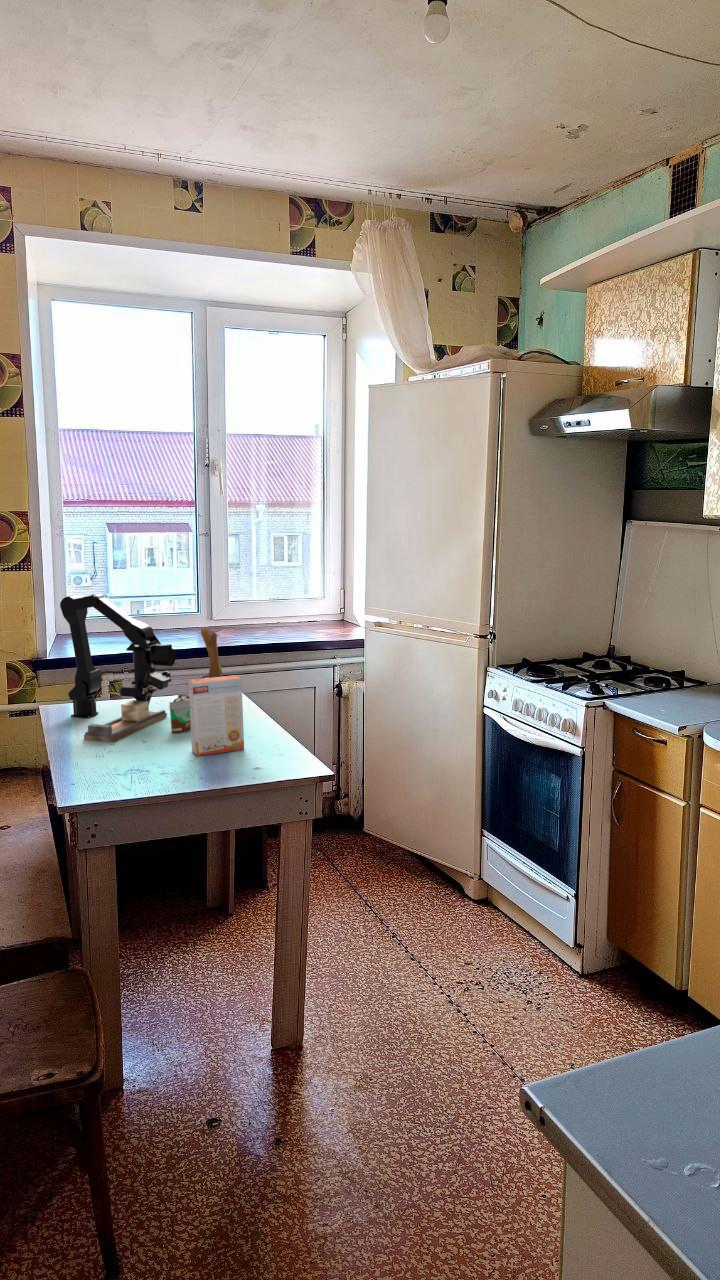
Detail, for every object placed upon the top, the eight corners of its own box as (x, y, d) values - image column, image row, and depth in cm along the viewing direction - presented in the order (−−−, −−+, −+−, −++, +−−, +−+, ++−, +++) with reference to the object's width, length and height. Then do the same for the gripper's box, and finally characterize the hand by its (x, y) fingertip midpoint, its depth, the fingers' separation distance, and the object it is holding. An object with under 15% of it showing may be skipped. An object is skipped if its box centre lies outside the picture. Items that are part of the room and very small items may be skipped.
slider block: (121, 719, 270) (121, 704, 269) (132, 715, 276) (131, 700, 275) (138, 721, 268) (137, 705, 267) (149, 716, 274) (148, 701, 273)
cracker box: (238, 745, 249) (236, 674, 246) (244, 750, 244) (242, 678, 240) (190, 751, 244) (187, 678, 240) (195, 756, 238) (192, 683, 235)
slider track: (84, 739, 255) (83, 725, 254) (139, 715, 283) (139, 701, 283) (113, 742, 252) (112, 727, 251) (166, 717, 280) (166, 703, 279)
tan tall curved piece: (209, 719, 278) (206, 633, 273) (202, 705, 296) (200, 624, 291) (230, 717, 279) (227, 632, 275) (222, 704, 297) (220, 623, 293)
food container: (190, 735, 260) (189, 702, 258) (170, 735, 260) (169, 702, 258) (199, 724, 272) (198, 693, 270) (179, 724, 272) (178, 693, 270)
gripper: (149, 671, 263) (151, 721, 266) (180, 660, 281) (181, 707, 283) (117, 669, 266) (120, 718, 269) (149, 658, 284) (152, 704, 287)
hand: (145, 712), depth 277 cm, fingers closed
